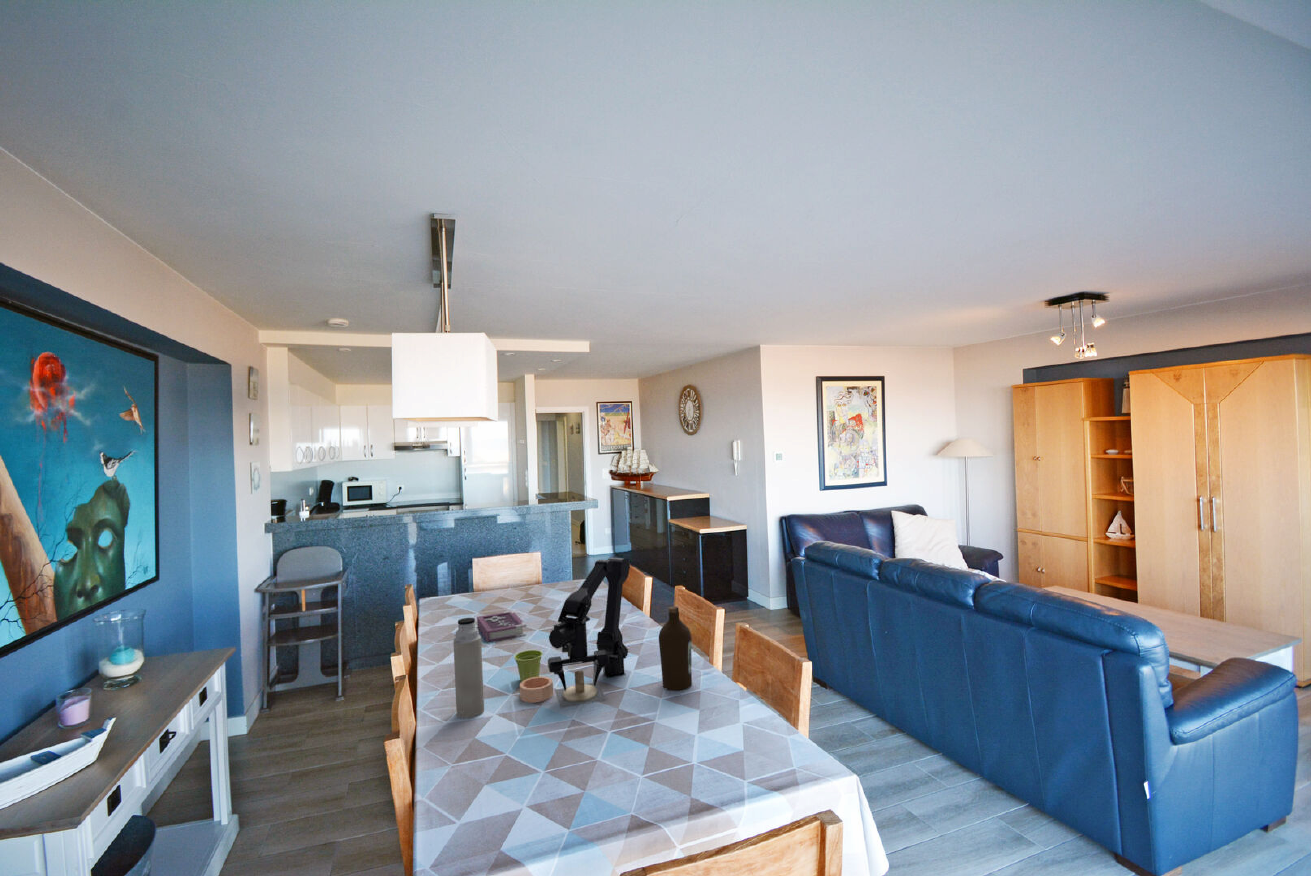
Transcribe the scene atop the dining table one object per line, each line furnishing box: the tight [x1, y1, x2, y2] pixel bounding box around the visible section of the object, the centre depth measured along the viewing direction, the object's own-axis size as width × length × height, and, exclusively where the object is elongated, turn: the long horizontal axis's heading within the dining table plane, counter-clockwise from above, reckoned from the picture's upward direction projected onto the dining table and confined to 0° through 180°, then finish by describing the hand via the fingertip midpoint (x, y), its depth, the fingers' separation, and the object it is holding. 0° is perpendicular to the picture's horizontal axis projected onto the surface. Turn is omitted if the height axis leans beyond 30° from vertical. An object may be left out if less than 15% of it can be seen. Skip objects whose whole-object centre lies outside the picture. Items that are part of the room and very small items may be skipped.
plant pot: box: [513, 649, 544, 682], centre depth 200 cm, size 9×9×9 cm
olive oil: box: [658, 605, 693, 692], centre depth 191 cm, size 11×11×25 cm
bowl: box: [519, 676, 554, 704], centre depth 186 cm, size 10×10×4 cm
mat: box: [554, 682, 608, 709], centre depth 185 cm, size 14×14×1 cm
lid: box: [563, 670, 597, 702], centre depth 185 cm, size 10×10×7 cm
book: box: [476, 610, 527, 643], centre depth 258 cm, size 25×16×5 cm, turn 26°
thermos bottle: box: [453, 617, 485, 719], centre depth 178 cm, size 8×8×28 cm
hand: (579, 688), depth 185 cm, fingers open, 9 cm apart
